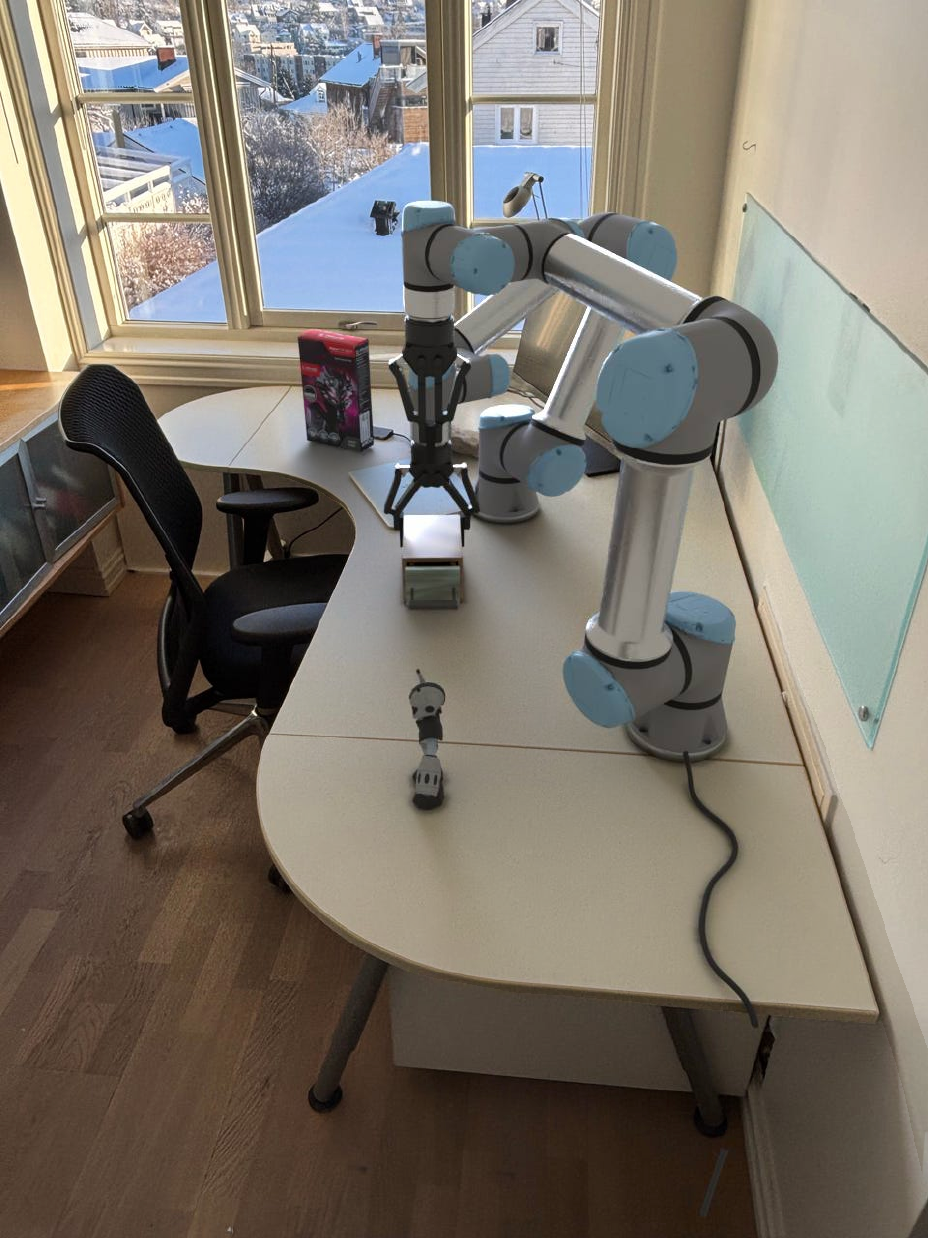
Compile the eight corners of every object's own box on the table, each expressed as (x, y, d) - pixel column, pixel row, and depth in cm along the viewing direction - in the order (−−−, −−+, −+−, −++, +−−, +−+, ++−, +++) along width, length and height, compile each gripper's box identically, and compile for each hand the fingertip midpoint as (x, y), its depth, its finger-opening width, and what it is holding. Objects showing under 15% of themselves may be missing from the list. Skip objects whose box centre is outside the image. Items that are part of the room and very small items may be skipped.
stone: (396, 441, 228) (401, 417, 225) (415, 432, 241) (420, 409, 239) (476, 465, 224) (482, 442, 222) (491, 455, 237) (496, 432, 235)
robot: (448, 840, 124) (447, 726, 113) (411, 841, 124) (407, 727, 112) (443, 742, 140) (442, 634, 129) (411, 743, 140) (408, 635, 129)
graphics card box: (304, 441, 235) (294, 334, 220) (320, 432, 240) (311, 327, 225) (361, 455, 228) (354, 345, 213) (376, 445, 233) (371, 337, 218)
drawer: (460, 624, 165) (461, 587, 161) (405, 625, 165) (404, 588, 161) (457, 562, 184) (457, 527, 179) (407, 562, 183) (406, 528, 179)
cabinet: (462, 602, 173) (462, 557, 168) (403, 602, 173) (402, 558, 167) (459, 557, 187) (459, 514, 182) (405, 557, 187) (403, 515, 181)
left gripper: (493, 431, 173) (490, 534, 185) (368, 431, 172) (373, 535, 184) (496, 447, 167) (492, 552, 179) (365, 448, 166) (371, 553, 178)
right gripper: (471, 307, 141) (469, 451, 154) (386, 307, 141) (391, 451, 154) (474, 322, 135) (471, 470, 148) (384, 322, 134) (390, 470, 148)
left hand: (432, 543), depth 182 cm, fingers closed on cabinet, 11 cm apart
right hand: (430, 460), depth 151 cm, fingers closed
